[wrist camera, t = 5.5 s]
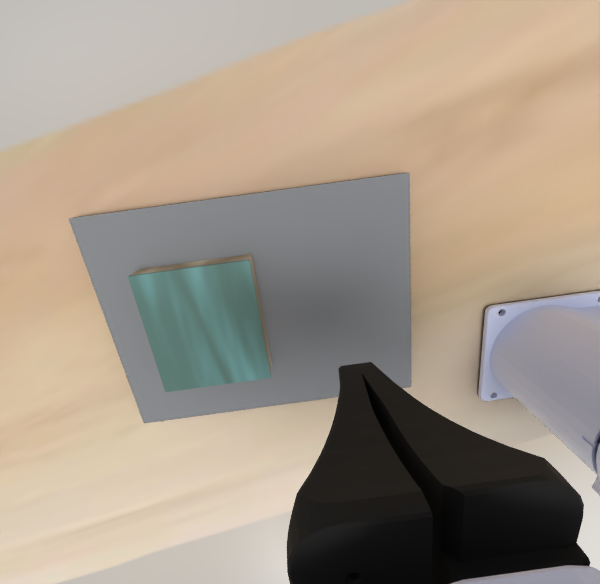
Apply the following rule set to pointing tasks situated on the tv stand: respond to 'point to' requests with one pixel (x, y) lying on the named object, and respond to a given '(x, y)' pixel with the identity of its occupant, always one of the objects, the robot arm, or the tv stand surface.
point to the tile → (204, 322)
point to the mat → (270, 285)
